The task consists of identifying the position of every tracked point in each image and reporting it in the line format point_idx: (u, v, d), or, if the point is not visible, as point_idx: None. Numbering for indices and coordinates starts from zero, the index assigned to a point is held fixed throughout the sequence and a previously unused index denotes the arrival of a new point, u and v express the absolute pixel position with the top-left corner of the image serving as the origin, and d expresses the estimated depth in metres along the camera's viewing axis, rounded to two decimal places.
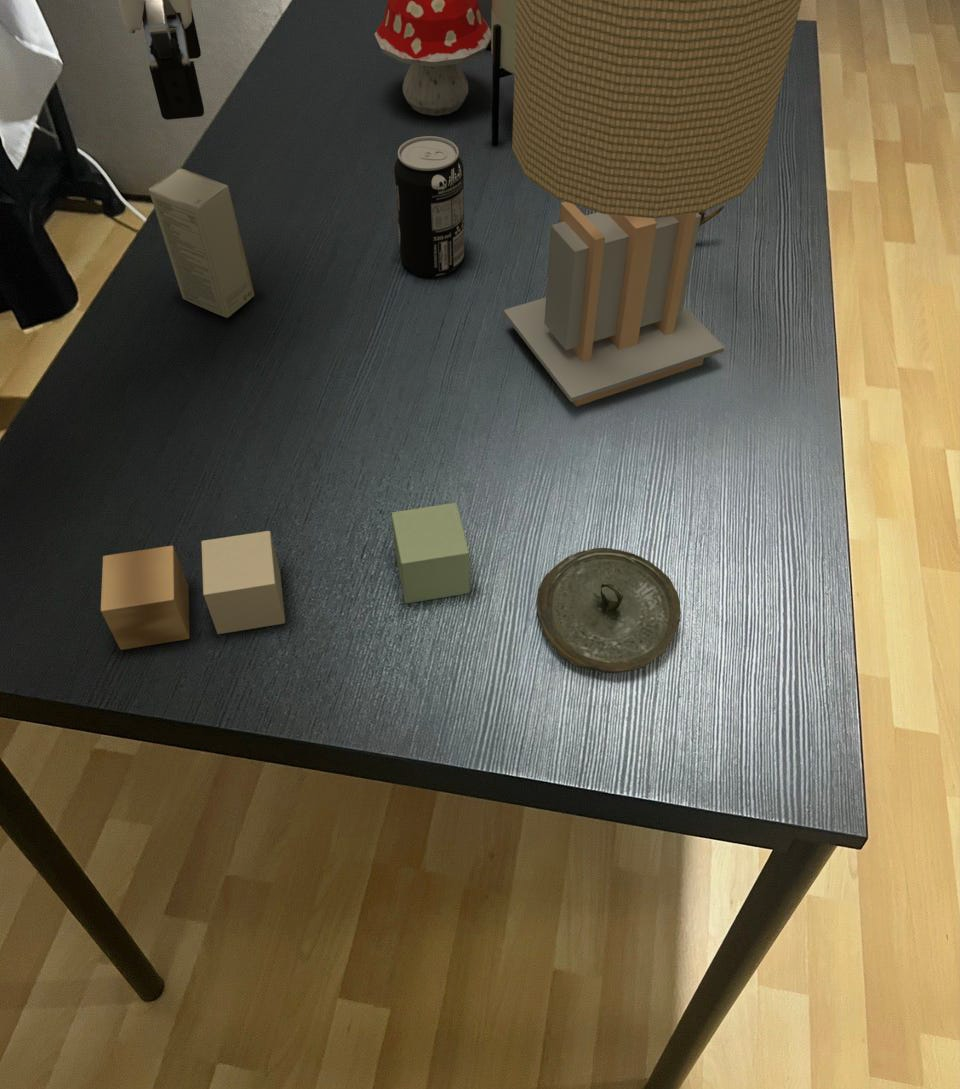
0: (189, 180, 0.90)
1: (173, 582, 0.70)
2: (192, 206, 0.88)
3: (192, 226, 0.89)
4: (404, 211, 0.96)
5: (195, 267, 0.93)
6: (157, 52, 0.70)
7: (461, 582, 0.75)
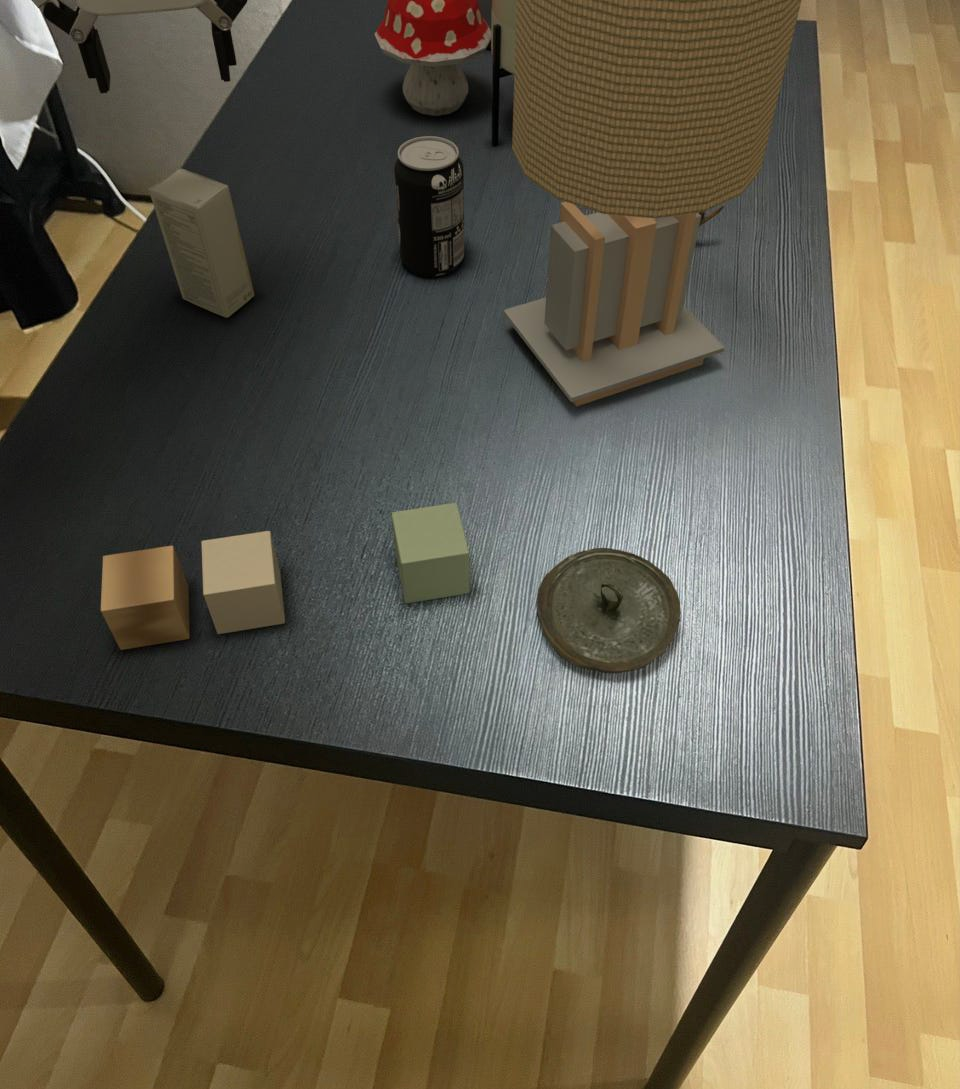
0: (190, 180, 0.90)
1: (173, 582, 0.70)
2: (192, 206, 0.88)
3: (192, 226, 0.89)
4: (404, 211, 0.96)
5: (195, 267, 0.93)
6: None
7: (461, 582, 0.75)
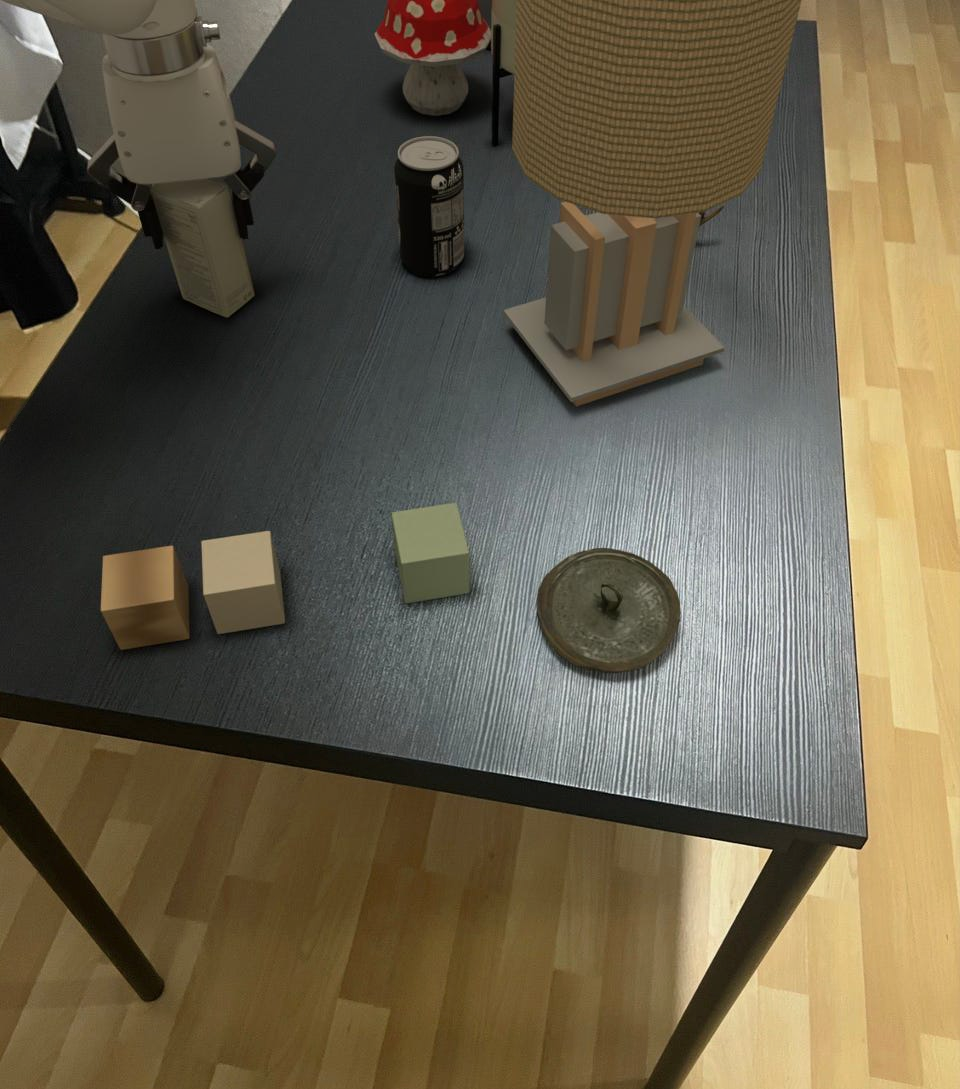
0: None
1: (173, 582, 0.70)
2: (193, 206, 0.88)
3: (193, 226, 0.89)
4: (404, 211, 0.96)
5: (195, 266, 0.93)
6: None
7: (461, 582, 0.75)
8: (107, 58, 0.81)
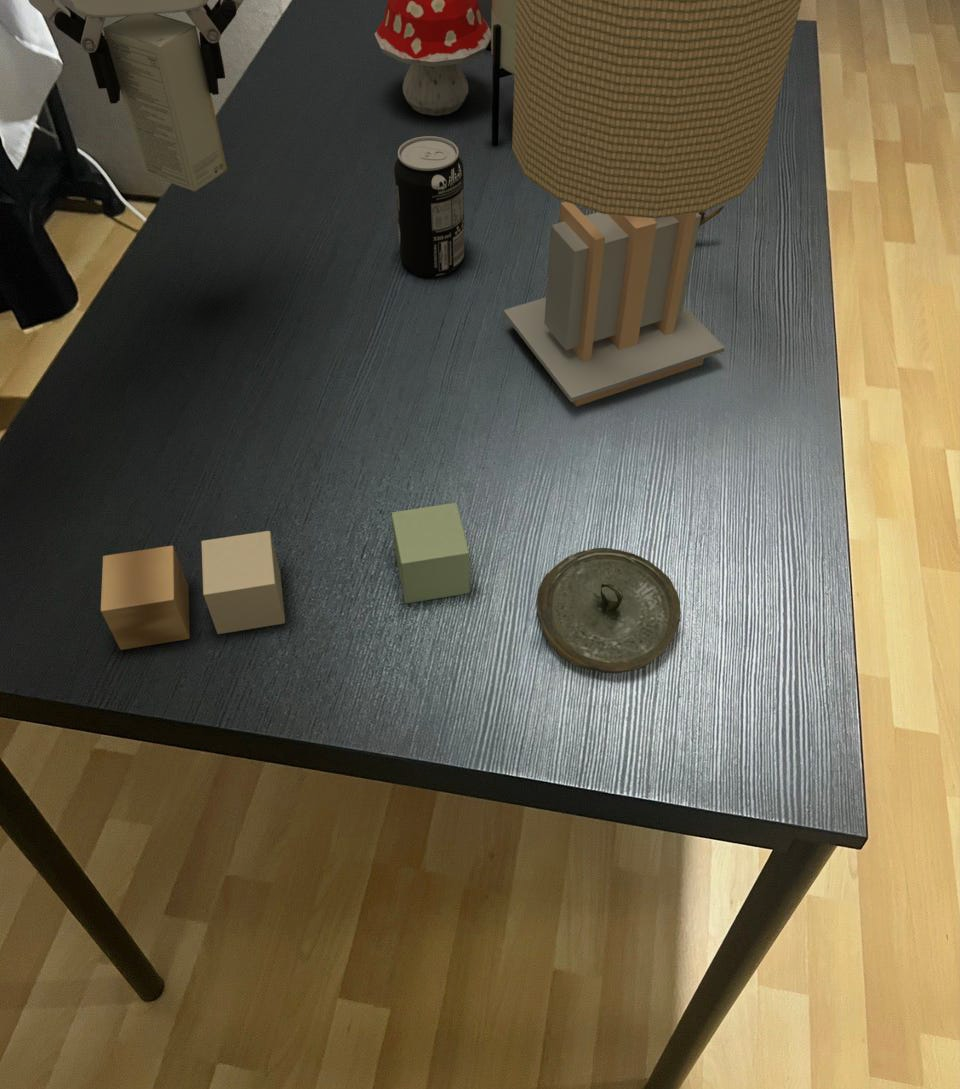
0: (151, 20, 0.78)
1: (173, 582, 0.70)
2: (153, 45, 0.75)
3: (153, 71, 0.77)
4: (404, 211, 0.96)
5: (157, 127, 0.81)
6: None
7: (461, 582, 0.75)
8: None
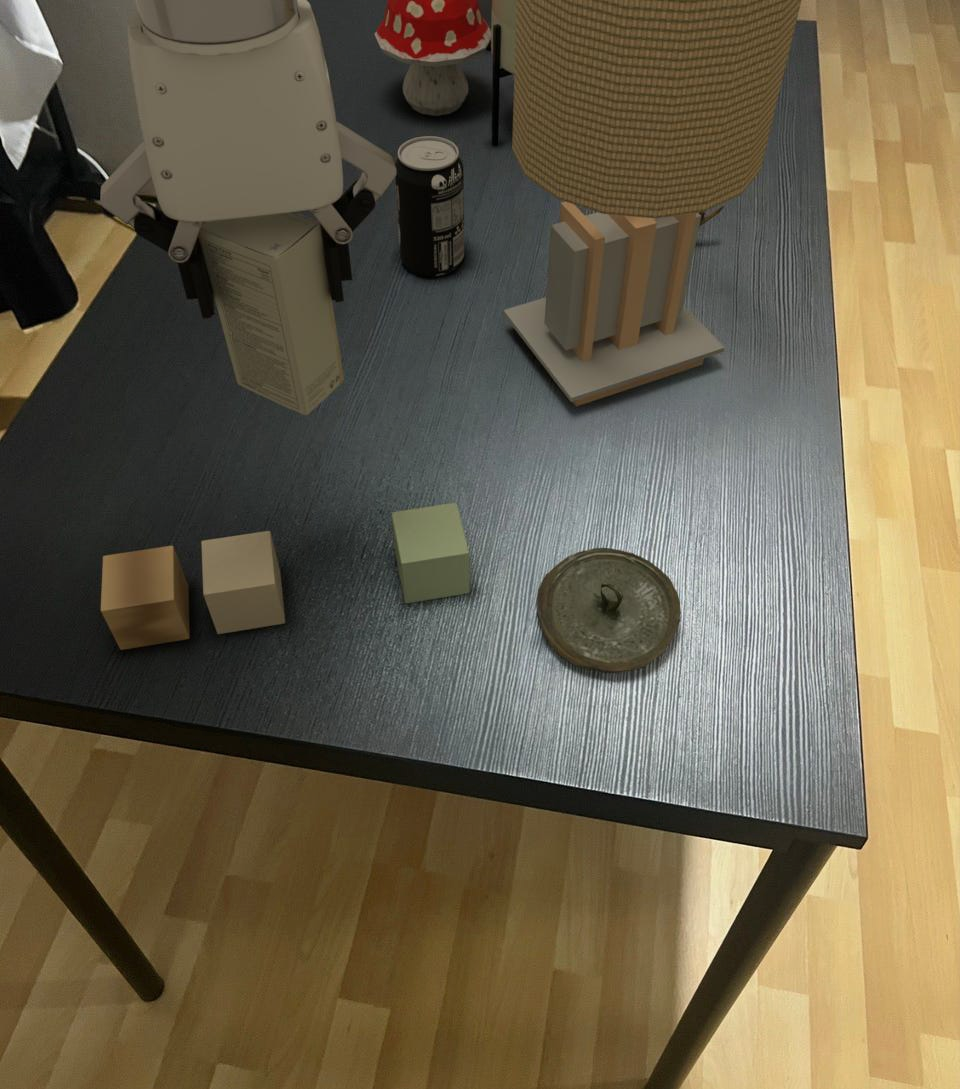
0: None
1: (173, 582, 0.70)
2: (266, 255, 0.56)
3: (264, 284, 0.57)
4: (404, 211, 0.96)
5: (262, 343, 0.61)
6: None
7: (461, 582, 0.75)
8: (135, 17, 0.49)
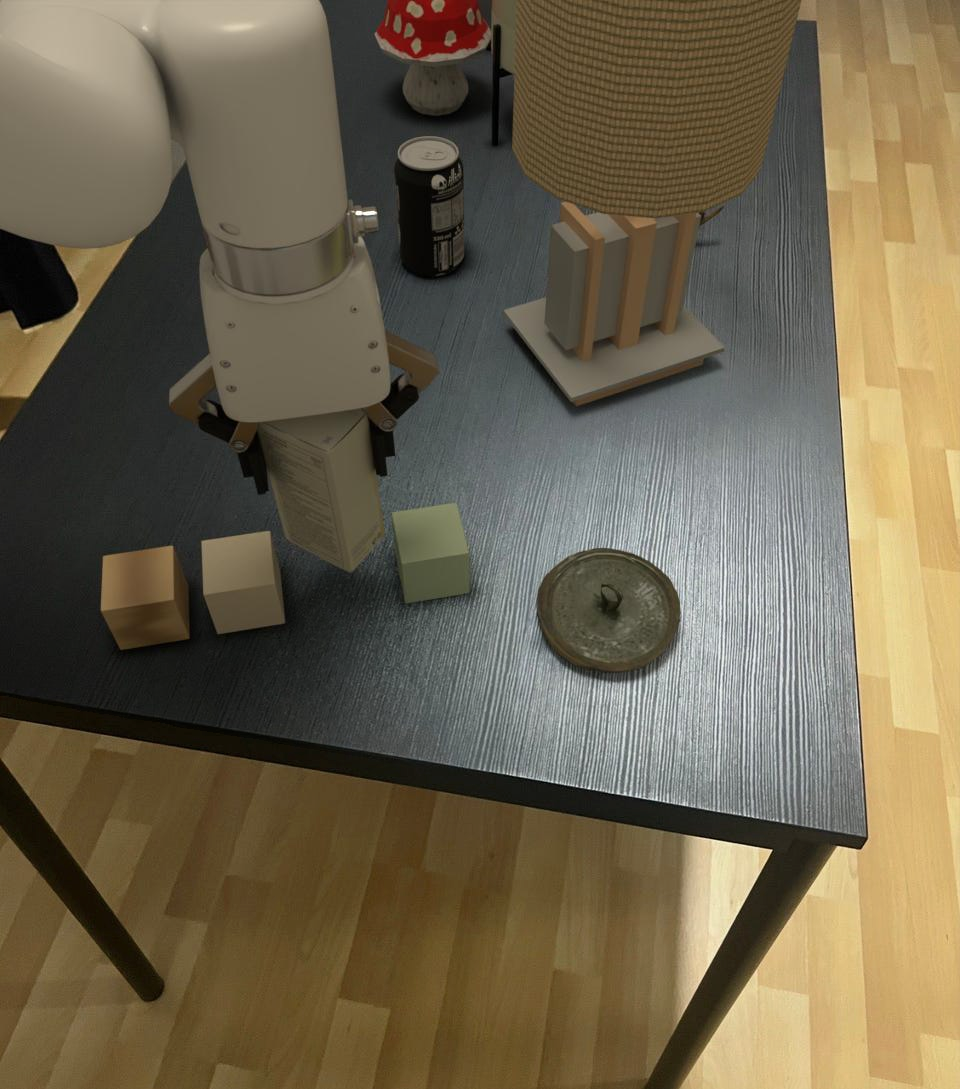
0: None
1: (173, 582, 0.70)
2: (319, 449, 0.60)
3: (316, 470, 0.62)
4: (404, 211, 0.96)
5: (311, 512, 0.66)
6: None
7: (461, 582, 0.75)
8: (206, 258, 0.54)
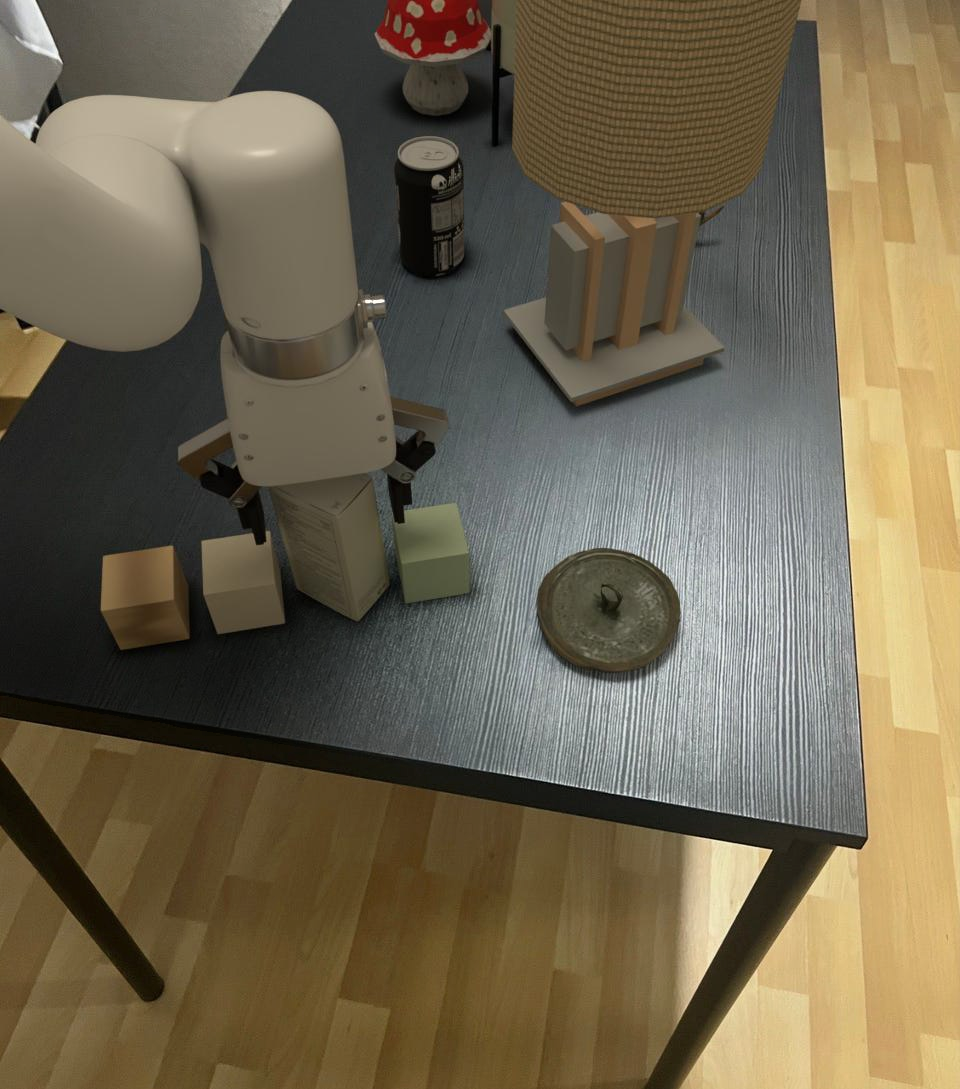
0: None
1: (173, 582, 0.70)
2: (328, 514, 0.65)
3: (325, 532, 0.67)
4: (404, 211, 0.96)
5: (321, 568, 0.71)
6: None
7: (461, 582, 0.75)
8: (227, 340, 0.58)
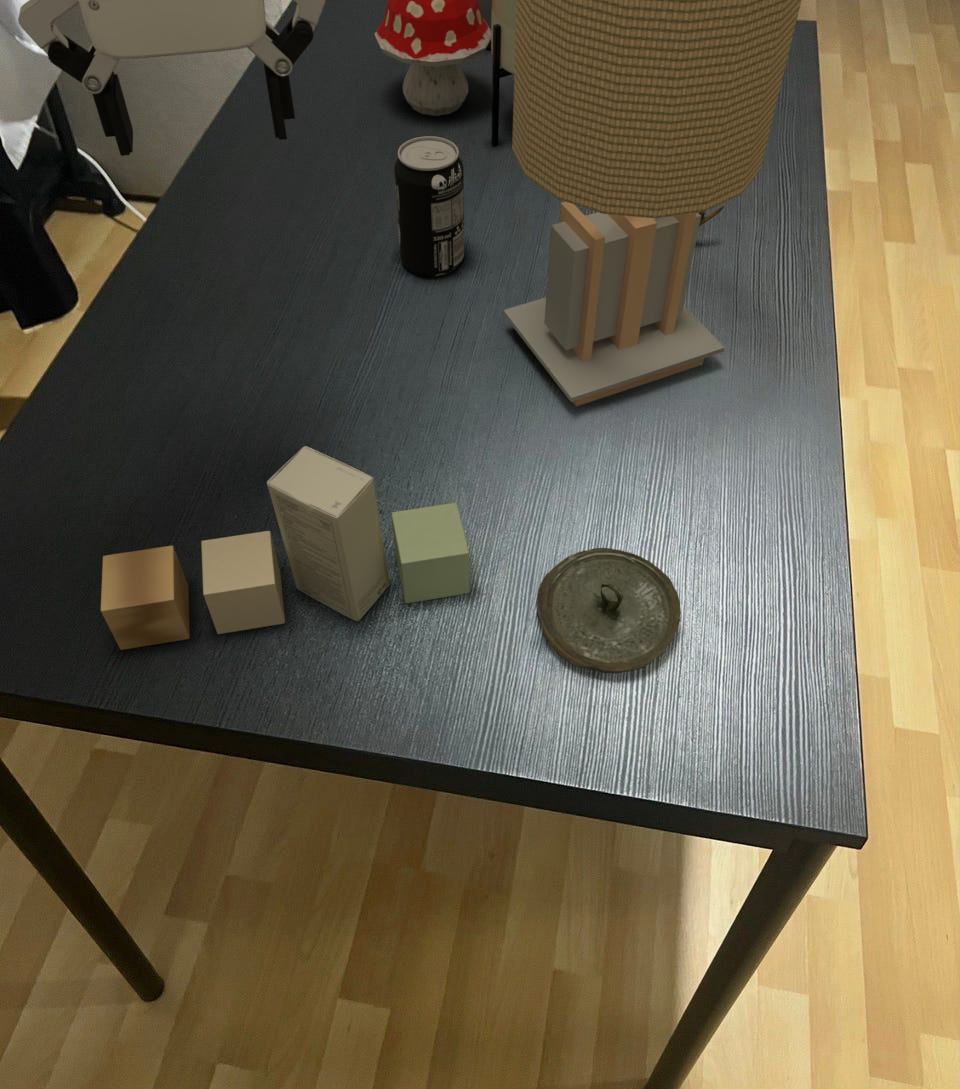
0: (320, 467, 0.68)
1: (173, 582, 0.70)
2: (328, 514, 0.65)
3: (325, 532, 0.67)
4: (404, 211, 0.96)
5: (321, 568, 0.71)
6: None
7: (461, 582, 0.75)
8: None
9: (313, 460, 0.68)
